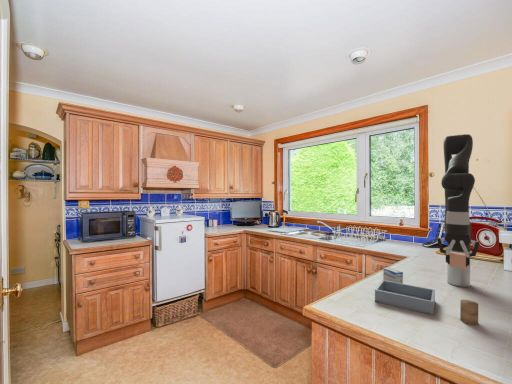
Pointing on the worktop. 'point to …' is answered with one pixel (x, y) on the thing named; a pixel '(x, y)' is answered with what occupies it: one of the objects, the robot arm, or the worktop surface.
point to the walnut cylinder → (469, 312)
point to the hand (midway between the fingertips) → (457, 264)
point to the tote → (406, 296)
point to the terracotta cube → (458, 260)
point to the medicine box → (392, 275)
